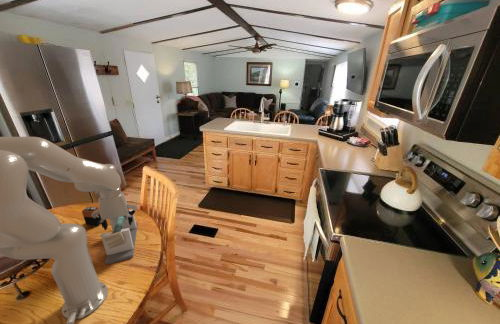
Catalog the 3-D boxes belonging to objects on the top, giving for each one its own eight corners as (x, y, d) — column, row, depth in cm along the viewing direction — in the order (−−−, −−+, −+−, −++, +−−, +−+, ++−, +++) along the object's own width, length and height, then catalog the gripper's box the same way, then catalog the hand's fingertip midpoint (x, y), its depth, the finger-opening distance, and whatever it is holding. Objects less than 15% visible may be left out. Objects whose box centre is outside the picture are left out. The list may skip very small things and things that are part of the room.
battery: (97, 226, 107) (92, 210, 103) (85, 225, 107) (80, 209, 104) (104, 221, 111) (99, 205, 107) (92, 220, 111) (87, 204, 108)
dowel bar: (125, 243, 87) (120, 232, 85) (109, 248, 85) (103, 238, 83) (130, 216, 104) (126, 206, 102) (117, 220, 103) (113, 210, 100)
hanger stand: (133, 257, 89) (127, 235, 84) (105, 264, 85) (98, 242, 81) (137, 224, 109) (133, 205, 105) (116, 228, 106) (110, 209, 101)
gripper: (83, 200, 81) (93, 235, 87) (132, 193, 87) (139, 226, 93) (88, 192, 87) (98, 225, 93) (134, 185, 94) (140, 217, 99)
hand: (118, 225), depth 93 cm, fingers open, 9 cm apart
